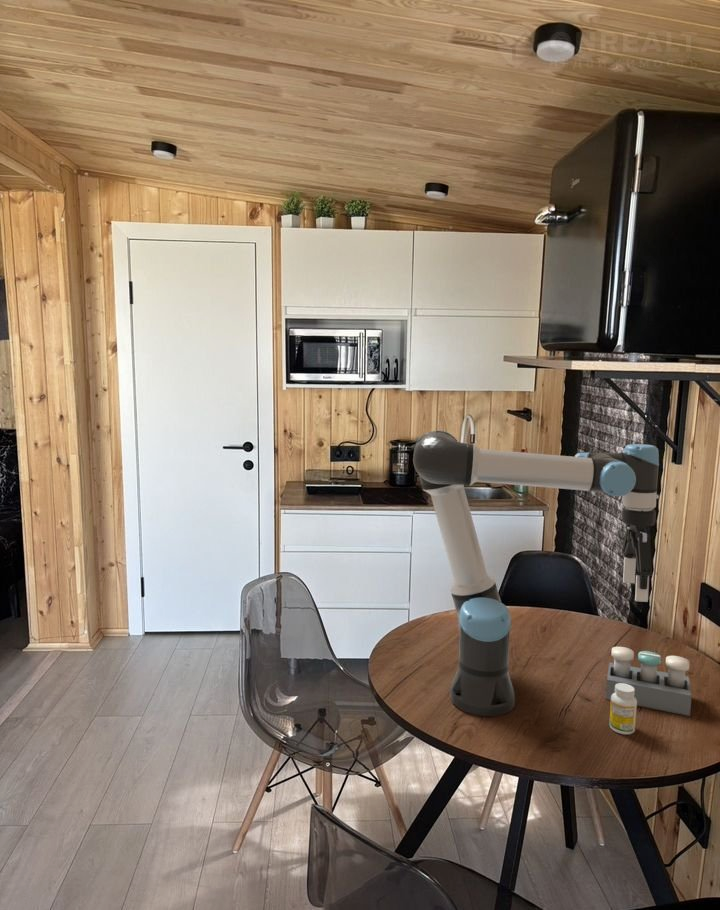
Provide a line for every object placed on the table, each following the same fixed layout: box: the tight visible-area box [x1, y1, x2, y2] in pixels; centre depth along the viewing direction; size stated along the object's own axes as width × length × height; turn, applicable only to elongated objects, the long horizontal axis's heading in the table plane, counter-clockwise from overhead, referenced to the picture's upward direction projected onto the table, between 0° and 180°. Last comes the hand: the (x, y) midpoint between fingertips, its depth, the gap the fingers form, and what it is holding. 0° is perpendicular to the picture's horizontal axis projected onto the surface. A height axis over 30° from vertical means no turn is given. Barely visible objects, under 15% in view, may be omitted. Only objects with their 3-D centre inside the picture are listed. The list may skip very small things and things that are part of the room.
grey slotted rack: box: [605, 662, 692, 717], centre depth 153 cm, size 10×18×5 cm, turn 66°
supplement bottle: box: [609, 683, 638, 736], centre depth 139 cm, size 5×5×10 cm
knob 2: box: [665, 655, 690, 689], centre depth 150 cm, size 5×5×6 cm
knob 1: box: [610, 646, 635, 679], centre depth 155 cm, size 5×5×6 cm
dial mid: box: [637, 650, 662, 684], centre depth 152 cm, size 5×5×7 cm
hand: (634, 591), depth 157 cm, fingers open, 13 cm apart
